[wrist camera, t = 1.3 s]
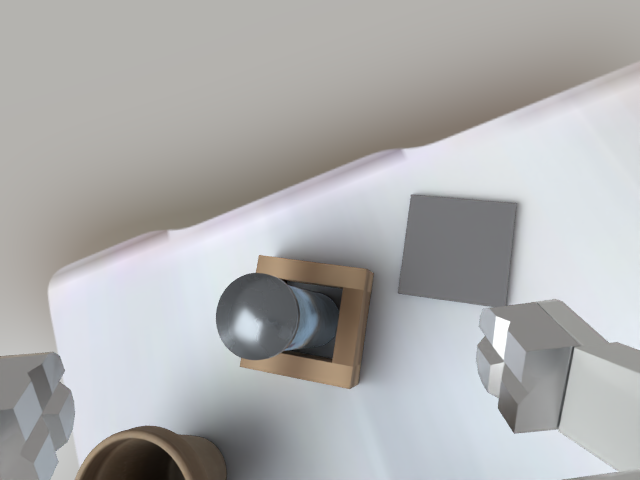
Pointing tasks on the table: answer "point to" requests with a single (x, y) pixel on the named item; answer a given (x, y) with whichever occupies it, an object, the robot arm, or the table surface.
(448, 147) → the table surface
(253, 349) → the plunger
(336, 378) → the bore block
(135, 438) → the flower pot
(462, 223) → the mat
